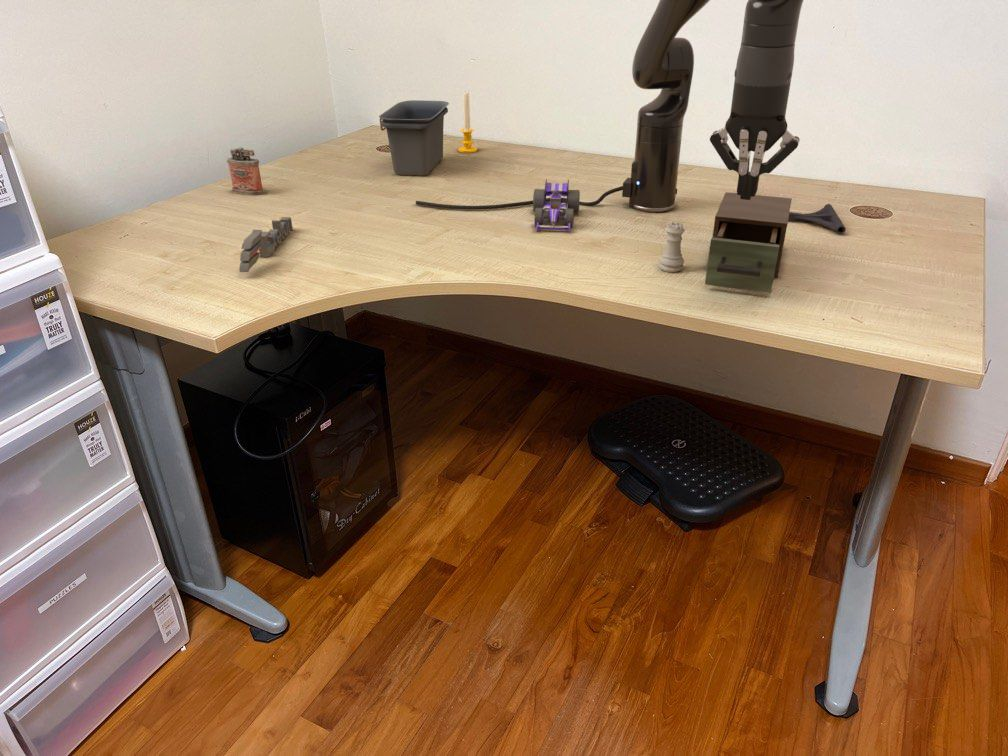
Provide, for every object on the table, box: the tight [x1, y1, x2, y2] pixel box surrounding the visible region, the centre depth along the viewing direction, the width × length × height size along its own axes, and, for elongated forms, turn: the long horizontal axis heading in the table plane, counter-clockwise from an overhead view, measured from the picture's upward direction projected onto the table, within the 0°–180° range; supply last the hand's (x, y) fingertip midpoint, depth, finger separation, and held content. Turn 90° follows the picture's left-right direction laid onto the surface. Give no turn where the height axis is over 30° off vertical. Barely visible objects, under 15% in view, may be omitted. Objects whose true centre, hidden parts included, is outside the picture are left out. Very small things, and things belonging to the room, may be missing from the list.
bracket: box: [788, 203, 846, 235], centre depth 154 cm, size 14×15×3 cm
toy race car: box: [532, 178, 581, 233], centre depth 155 cm, size 10×15×6 cm, turn 174°
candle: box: [458, 91, 478, 154], centre depth 204 cm, size 5×5×16 cm
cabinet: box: [712, 191, 793, 279], centre depth 135 cm, size 15×12×10 cm
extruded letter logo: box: [239, 216, 294, 273], centre depth 141 cm, size 25×2×6 cm, turn 177°
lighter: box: [226, 146, 265, 196], centre depth 174 cm, size 8×3×10 cm, turn 68°
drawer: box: [704, 222, 779, 294], centre depth 125 cm, size 18×10×8 cm, turn 159°
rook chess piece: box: [657, 221, 686, 273], centre depth 132 cm, size 4×4×8 cm
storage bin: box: [378, 99, 450, 177], centre depth 190 cm, size 21×16×14 cm
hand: (745, 197), depth 115 cm, fingers closed
